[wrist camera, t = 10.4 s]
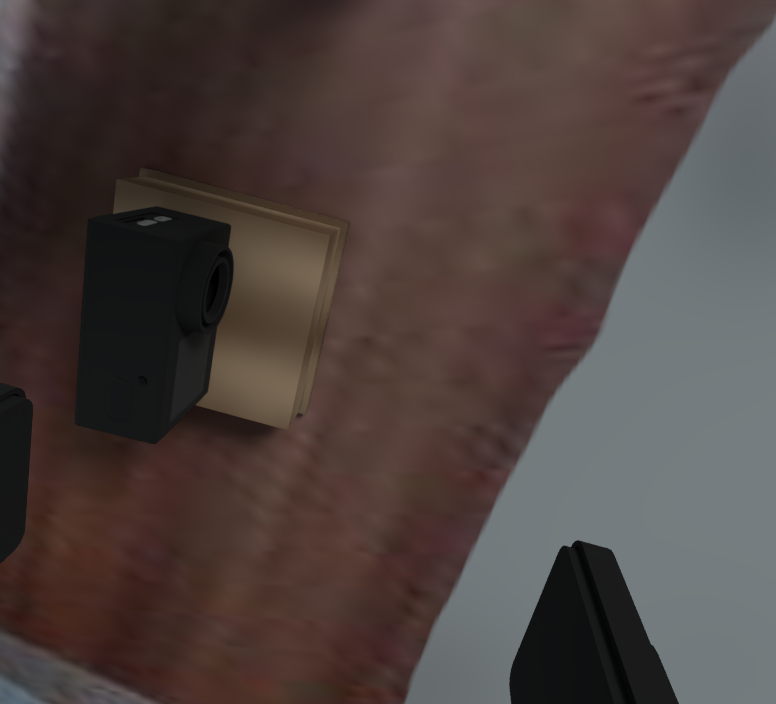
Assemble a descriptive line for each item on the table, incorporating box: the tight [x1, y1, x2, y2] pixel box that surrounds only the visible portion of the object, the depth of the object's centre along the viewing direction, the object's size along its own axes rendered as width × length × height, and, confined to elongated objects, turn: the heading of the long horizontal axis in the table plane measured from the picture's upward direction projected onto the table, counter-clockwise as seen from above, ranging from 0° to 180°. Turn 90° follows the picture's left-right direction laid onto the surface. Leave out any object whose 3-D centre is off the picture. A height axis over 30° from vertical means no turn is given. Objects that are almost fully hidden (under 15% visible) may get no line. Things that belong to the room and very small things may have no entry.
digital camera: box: [75, 206, 234, 444], centre depth 32 cm, size 10×5×7 cm, turn 167°
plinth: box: [113, 168, 350, 430], centre depth 37 cm, size 13×13×4 cm
